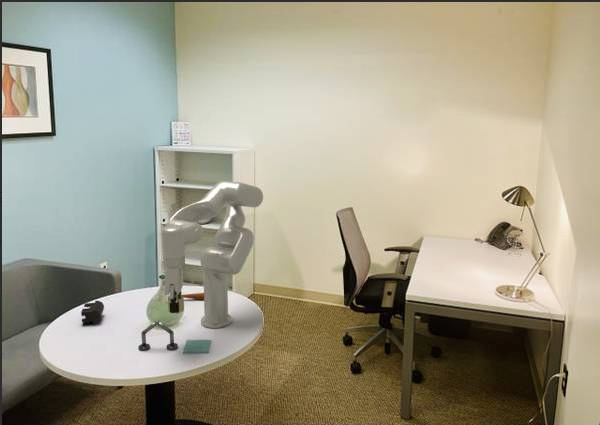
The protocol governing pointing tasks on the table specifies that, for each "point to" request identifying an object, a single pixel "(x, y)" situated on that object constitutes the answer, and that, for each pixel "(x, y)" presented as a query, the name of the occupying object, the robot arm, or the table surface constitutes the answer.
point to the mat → (196, 346)
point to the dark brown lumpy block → (92, 313)
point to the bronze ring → (181, 303)
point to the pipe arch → (172, 345)
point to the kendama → (195, 296)
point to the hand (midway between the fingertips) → (176, 308)
